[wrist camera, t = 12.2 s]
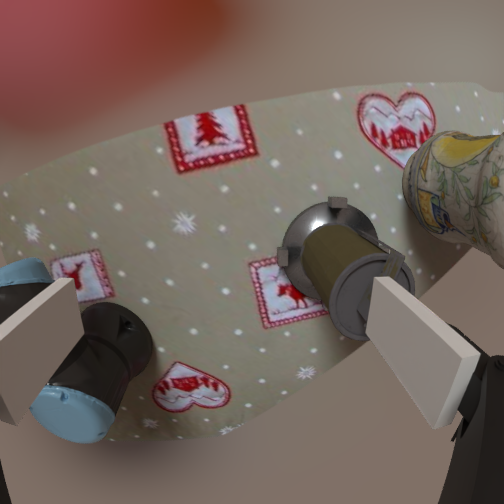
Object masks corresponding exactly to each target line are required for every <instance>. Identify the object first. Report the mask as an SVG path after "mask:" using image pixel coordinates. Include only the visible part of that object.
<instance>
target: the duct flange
mask: <svg viewBox="0 0 504 504" xmlns="http://www.w3.org/2000/svg"><path fill="white" fill-rule="evenodd" d="M333 222H334V223H342V224H345V225H347V226H349V227H351V228H352V229H353V230H354V231H355V232H356V233H358V234H359V235H361V236H362V237H364V238H366V239H367V240H369V241H370V242H372V243H373V244H375V245H376V246H378V247H379V248H381V249H383V250H384V251H386V252H387V253H389V249H388V248H387V247H385V246H383V245H380V246H379V243H378V242H377V241H375V240H374V239H372V238H370V237H369V236H367V235H366V234H364V233H362V232H361V231H363V232H365V233H368V234H369V235H371V236H373V237H375V238H376V239H378V237H377V233H376V231H375V228H374V226H373V224H372V223H371V221H370V220H369V218H368V217H367V216H366V215H365V214H364V213H362V212H361V211H360V210H358V209H357V208H355V207H353V206H350V205H348V204H347V198H345V197H328V202H323V203H319V204H316V205H313V206H311V207H309V208H307V209H306V210H304V211H303V212H301V213H300V214H299V215H298V216H297V217H296V218H295V219H294V220H293V221H292V223H291V224H290V226H289V227H288V229H287V231H286V233H285V236H284V239H283V243H282V247H277V264H278V266H284V269H285V272H286V274H287V276H288V278H289V280H290V281H291V283H292V284H293V285H294V286H295V287H296V289H298V290H299V291H300V292H301V293H303V294H305V295H306V296H308V297H311V298H314V299H317V300H322V299H321V298H320V296H319V294H318V292H317V291H316V289H315V287H314V286H313V284H312V282H311V281H310V280H309V279H308V278H307V276H306V275H305V274H304V272H303V270H302V267H301V262H300V252H301V248H302V245H303V243H304V240H305V239H306V237H307V236H308V235H309V234H310V233H311V232H312V231H313V230H314V229H315V228H317V227H319V226H321V225H323V224H327V223H333ZM357 229H358V230H357ZM359 230H361V231H359ZM322 307H323V308H324V310H325V311H328V310H327V308H326V306H325V304H324V303H323V301H322Z"/></svg>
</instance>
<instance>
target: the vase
mask: <svg viewBox="0 0 504 504" xmlns="http://www.w3.org/2000/svg"><path fill="white" fill-rule="evenodd" d="M402 186H403V192H404V196H405V198H406V201H407V203H408V205H409V206H410V208H411V209H412V210H413V211H414V213H415V215H416V217H417V219H418V220H419V222H420V224H421V225H422V226H423V227H424V228H425V229H426V230H427V231H428V232H429V233H430V234H432V235H433V236H434V237H436V238H438V239H440V240H442V241H446V242H449V243H466V244H468V245H471V246H473V247H475V248H476V249H478V250H480V251H482V252H484V253H486V254H488V255H490V256H491V258H492V259H493V261H495V263H497V265H499V266H500V267H501V268H502V269H504V132H503V133H502V134H501V135H487V136H476V137H474V136H472V135H470V134H467V133H464V132H460V131H444V132H441V133H438V134H436V135H434V136H432V137H431V138H429V139H428V140H426V141H425V142H424V143H423V144H422V145H421V146H420V148H419V149H418V150H417V151H416V152H415V153H414V154H412V155H411V157H410V158H409V160H408V162H407V164H406V166H405V169H404V174H403V179H402Z"/></svg>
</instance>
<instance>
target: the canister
mask: <svg viewBox="0 0 504 504" xmlns="http://www.w3.org/2000/svg"><path fill="white" fill-rule="evenodd" d="M357 230H358V229H357ZM359 231H361V230H359ZM361 232H362V233H364V234H366V235H367V236H369V237H370V238H372V239H374V240H375V241H377V242H379V243H380V244H382V245H383V246H385V247H387V248H388V249H390V254H389V253H387V252H386V251H384V250H383V249H381V248H379V247H378V246H376V245H375V244H373V243H372V242H370V241H369V240H367V239H366V238H364V237H362V236H361V235H359V234H358V233H356V232H355V231H354V230H353V229H352V228H351V227H349V226H347V225H345V224H342V223H334V222H333V223H327V224H323V225H321V226H319V227H317V228H315V229H314V230H313V231H312V232H311V233H310V234H309V235H308V236H307V237H306V239H305V240H304V243H303V245H302V248H301V252H300V262H301V267H302V270H303V272H304V274H305V275H306V276H307V278H308V279H309V280H310V281H311V282H312V284H313V286H314V287H315V289H316V291H317V292H318V294H319V296H320V298H321V299H322V301H323V303H324V304H325V306H326V308H327V310H328V311H329V313H330V317H331V320H332V322H333V324H334V325H335V327H336V328H337V330H338V331H339V332H340V333H341V334H343V335H344V336H346V337H348V338H350V339H354V340H358V341H368V340H370V338H369V337H368V336H367V334H366V333H365V332H366V327H367V321H368V315H369V309H370V302H371V296H372V289H373V281H374V277H390V278H392V279H393V280H394V281H395V282H397V283H398V284H399V285H400V286H402V287H403V288H404V289H405V290H407V291H408V292H409V293H410V294H412V295H413V296H414V295H415V281H414V278H413V275H412V272H411V270H410V269H409V267H408V266H407V264H406V263H405V262H404V260H405V256H404V255H402V254H401V253H399V252H398V251H396V250H394V249H393V248H391V247H389V246H388V245H386V244H385V243H383V242H381V241H380V240H378V239H376V238H375V237H373V236H371V235H369V234H368V233H365V232H363V231H361Z"/></svg>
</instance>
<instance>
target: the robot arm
mask: <svg viewBox="0 0 504 504" xmlns="http://www.w3.org/2000/svg"><path fill="white" fill-rule="evenodd" d="M365 333H366V334H367V336H368V337H369V338H370V340H371V341H372V342H373V344H374V345H375V346H376V348H377V350H378V351H379V352H380V354H381V355H382V357H383V358H384V359H385V361H386V362H387V364H388V365H389V366H390V368H391V369H392V371H393V372H394V373H395V375H396V376H397V378H398V379H399V381H400V382H401V384H402V385H403V387H404V388H405V389H406V391H407V392H408V394H409V395H410V397H411V398H412V399H413V401H414V402H415V404H416V405H417V407H418V408H419V410H420V411H421V413H422V414H423V416H424V417H425V419H426V420H427V422H428V423H429V425H430V426H431V428H432V429H437V428H440V427H443V426H446V425H449V424H451V423H452V421H453V419H454V417H455V415H456V413H457V410H458V411H459V412H460V413H461V414H462V416H463V418H462V420H461V422H460V424H459V426H458V428H457V430H456V432H455V434H454V436H453V438H452V439H451V441H454V440H455V438H456V442H455V447H454V451H453V455H452V459H451V463H450V466H449V470H448V473H447V477H446V480H445V484H444V487H443V490H442V493H441V496H440V499H439V502H438V504H504V356H499V355H496V356H492V357H490V356H488V355H487V354H486V353H485V352H484V351H483V350H482V349H480V348H479V347H478V346H477V345H476V344H475V343H474V342H473V341H470V339H469V338H468V337H467V336H464V334H463V333H462V332H461V331H460V330H459V329H457V328H456V327H454V326H452V325H450V324H448V323H446V322H444V321H442V319H441V318H439V317H438V316H437V315H436V314H435V313H433V312H432V311H431V310H430V309H429V308H427V307H426V306H425V305H424V304H422V303H421V302H420V301H419V300H418V299H417V298H415V297H414V296H413V295H412V294H410V293H409V292H408V291H407V290H405V289H404V288H403V287H402V286H400V285H399V284H398V283H397V282H395V281H394V280H393V279H392V278H390V277H374V281H373V289H372V296H371V302H370V309H369V315H368V321H367V327H366V332H365ZM151 354H152V340H151V336H150V334H149V331H148V329H147V328H146V326H145V324H144V323H143V322H142V321H141V319H140V318H139V317H138V316H137V315H135V314H134V313H133V312H132V311H130V310H128V309H127V308H125V307H123V306H121V305H118V304H114V303H108V302H102V303H96V304H93V305H91V306H89V307H88V308H86V309H85V310H84V311H83V312H82V314H81V315H80V310H79V305H78V300H77V294H76V289H75V283H74V278H59V279H58V280H56V281H55V280H53V279H52V277H51V276H50V274H49V272H48V270H47V269H46V267H45V265H44V263H43V262H42V261H41V260H39V259H37V258H26V259H22V260H19V261H16V262H14V263H11V264H9V265H6V266H4V267H2V268H0V419H1V421H3V422H6V423H9V424H12V425H15V426H17V425H18V424H19V422H20V420H21V419H22V418H23V416H24V415H25V413H26V412H27V410H28V409H30V411H31V413H32V415H33V416H34V417H35V419H36V420H37V421H38V422H39V423H40V424H41V425H42V426H43V427H45V428H46V429H47V430H49V431H50V432H52V433H53V434H55V435H57V436H59V437H61V438H63V439H66V440H69V441H72V442H76V443H83V444H84V443H85V444H88V443H95V442H97V441H99V440H101V439H103V438H104V437H105V435H106V434H107V432H108V430H109V428H110V426H111V425H112V424H113V422H114V420H115V416H116V413H117V411H118V408H119V406H120V403H121V401H122V398H123V396H124V393H125V391H126V388H127V386H128V383H129V382H130V381H131V380H132V379H133V378H134V377H135V376H137V375H139V374H140V373H141V372H142V371H143V370H144V369H145V367H146V366H147V364H148V362H149V359H150V357H151ZM0 504H12V503H11V499H10V496H9V493H8V489H7V486H6V482H5V478H4V474H3V470H2V465H1V461H0Z"/></svg>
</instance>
